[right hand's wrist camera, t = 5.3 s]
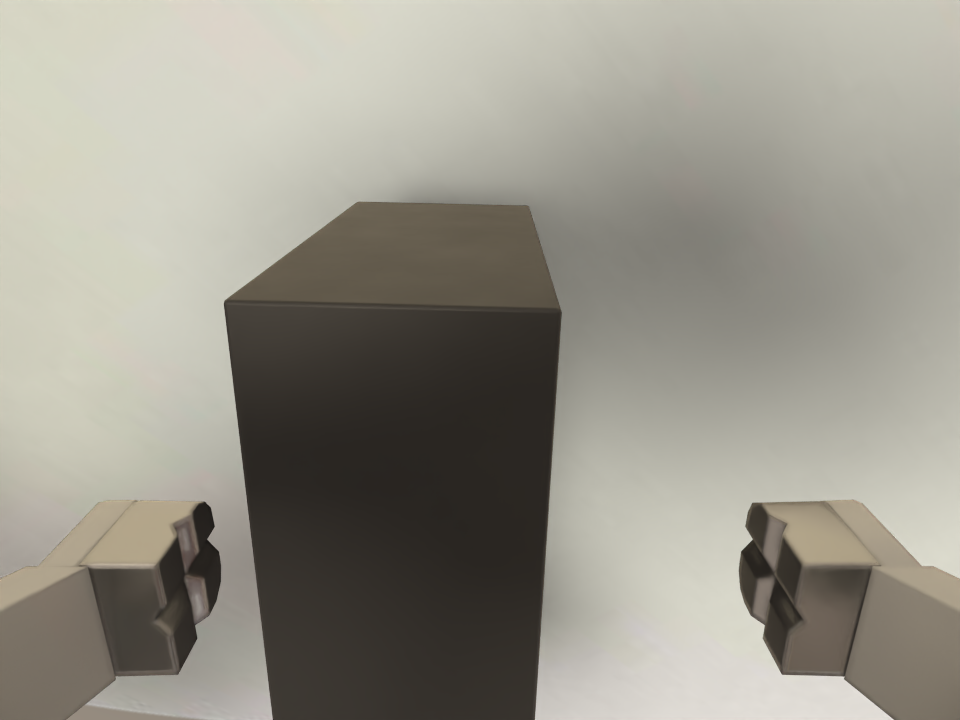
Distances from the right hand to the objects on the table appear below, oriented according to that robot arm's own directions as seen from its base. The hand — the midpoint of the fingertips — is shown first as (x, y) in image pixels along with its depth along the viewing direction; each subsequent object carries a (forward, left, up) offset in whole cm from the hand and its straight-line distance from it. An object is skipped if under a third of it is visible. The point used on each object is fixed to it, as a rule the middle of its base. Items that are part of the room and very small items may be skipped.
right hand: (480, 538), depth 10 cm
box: (+6, +7, -15) cm, 18 cm away
